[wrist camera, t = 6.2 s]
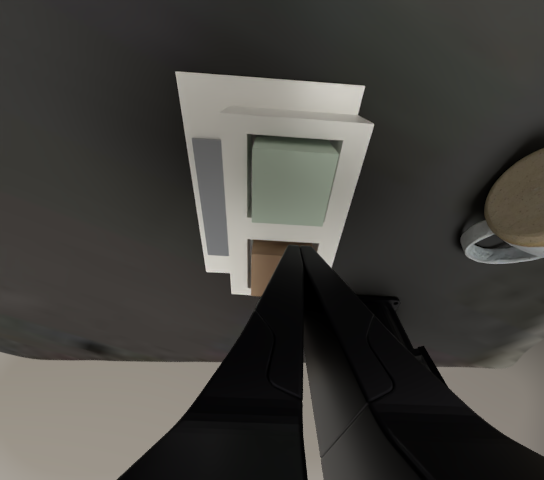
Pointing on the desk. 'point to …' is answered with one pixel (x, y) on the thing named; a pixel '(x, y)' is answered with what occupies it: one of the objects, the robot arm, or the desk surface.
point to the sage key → (291, 179)
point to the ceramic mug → (512, 215)
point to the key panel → (238, 159)
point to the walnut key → (266, 262)
